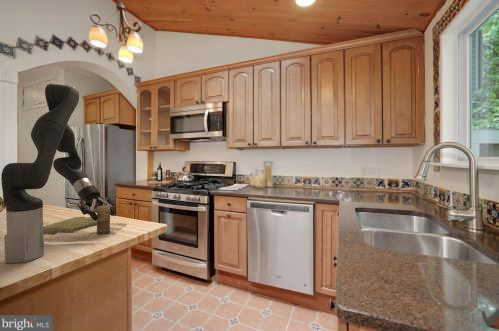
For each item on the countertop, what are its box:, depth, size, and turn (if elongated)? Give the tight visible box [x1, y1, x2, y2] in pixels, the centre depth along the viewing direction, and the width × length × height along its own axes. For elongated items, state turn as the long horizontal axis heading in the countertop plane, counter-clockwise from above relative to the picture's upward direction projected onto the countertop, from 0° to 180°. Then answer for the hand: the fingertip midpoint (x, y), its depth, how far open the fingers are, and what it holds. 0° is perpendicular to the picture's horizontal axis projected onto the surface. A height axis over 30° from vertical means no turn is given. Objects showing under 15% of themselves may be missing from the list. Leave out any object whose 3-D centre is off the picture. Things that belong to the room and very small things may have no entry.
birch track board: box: [86, 222, 130, 237], centre depth 110 cm, size 19×11×1 cm, turn 8°
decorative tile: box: [43, 216, 97, 235], centre depth 115 cm, size 19×20×4 cm
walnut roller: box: [96, 204, 111, 234], centre depth 105 cm, size 5×5×12 cm
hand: (105, 217), depth 104 cm, fingers open, 8 cm apart
